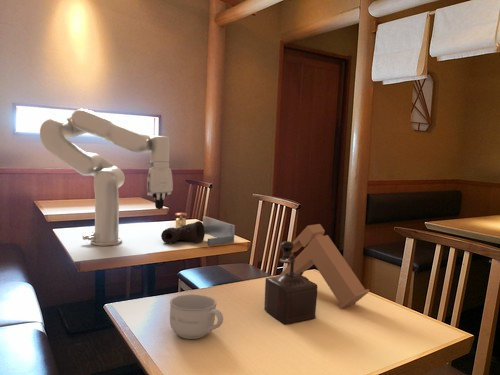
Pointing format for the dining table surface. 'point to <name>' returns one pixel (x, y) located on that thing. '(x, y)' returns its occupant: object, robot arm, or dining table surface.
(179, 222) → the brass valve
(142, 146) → the robot arm
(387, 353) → the dining table surface
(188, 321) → the teacup
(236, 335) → the dining table surface
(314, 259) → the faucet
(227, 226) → the grey angle bracket
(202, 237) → the pipe
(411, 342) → the dining table surface
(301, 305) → the pepper mill
